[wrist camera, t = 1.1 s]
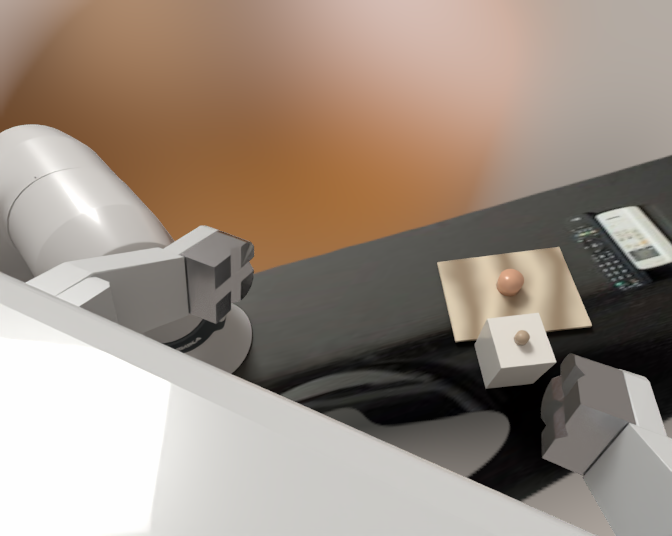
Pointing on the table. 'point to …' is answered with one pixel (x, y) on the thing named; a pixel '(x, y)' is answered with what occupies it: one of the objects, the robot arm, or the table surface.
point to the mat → (534, 296)
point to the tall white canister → (513, 350)
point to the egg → (510, 282)
